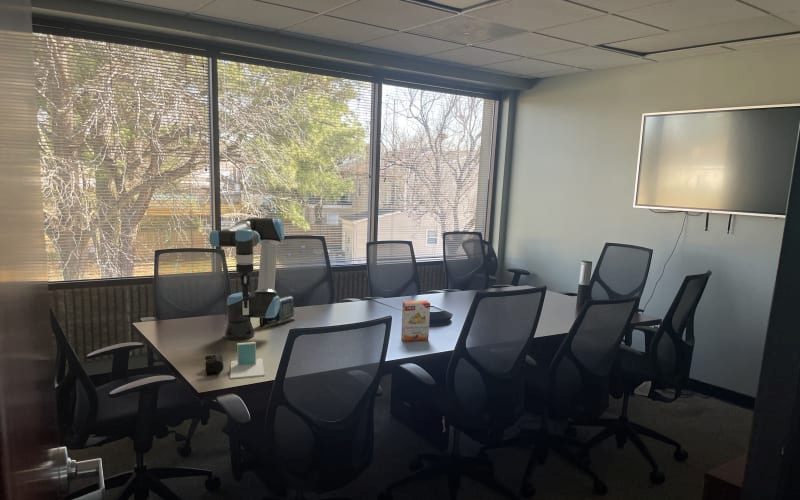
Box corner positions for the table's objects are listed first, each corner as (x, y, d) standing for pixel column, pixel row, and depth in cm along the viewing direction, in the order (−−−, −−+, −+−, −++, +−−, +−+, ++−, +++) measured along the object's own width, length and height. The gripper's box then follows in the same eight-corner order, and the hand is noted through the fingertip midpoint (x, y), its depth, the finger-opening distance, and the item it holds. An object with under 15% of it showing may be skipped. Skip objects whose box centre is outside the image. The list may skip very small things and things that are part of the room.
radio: (260, 328, 284) (260, 302, 282) (253, 325, 290) (253, 299, 288) (297, 321, 300) (296, 296, 298) (289, 318, 306) (289, 294, 304)
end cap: (223, 374, 219) (223, 359, 218) (206, 377, 216) (205, 361, 215) (222, 366, 228) (221, 352, 227) (205, 368, 225) (205, 354, 224)
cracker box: (404, 342, 267) (405, 303, 264) (400, 338, 273) (402, 300, 270) (429, 340, 271) (430, 302, 268) (425, 337, 277) (426, 299, 274)
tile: (237, 364, 229) (237, 343, 228) (256, 362, 232) (255, 341, 230) (237, 366, 227) (237, 344, 226) (256, 364, 230) (255, 343, 228)
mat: (230, 362, 233) (230, 360, 233) (262, 359, 237) (262, 358, 237) (230, 379, 214) (230, 377, 214) (264, 375, 219) (264, 374, 219)
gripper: (236, 259, 238) (237, 307, 241) (236, 267, 219) (237, 318, 222) (252, 259, 240) (253, 306, 243) (254, 267, 221) (254, 317, 224)
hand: (245, 312), depth 233 cm, fingers open, 7 cm apart
